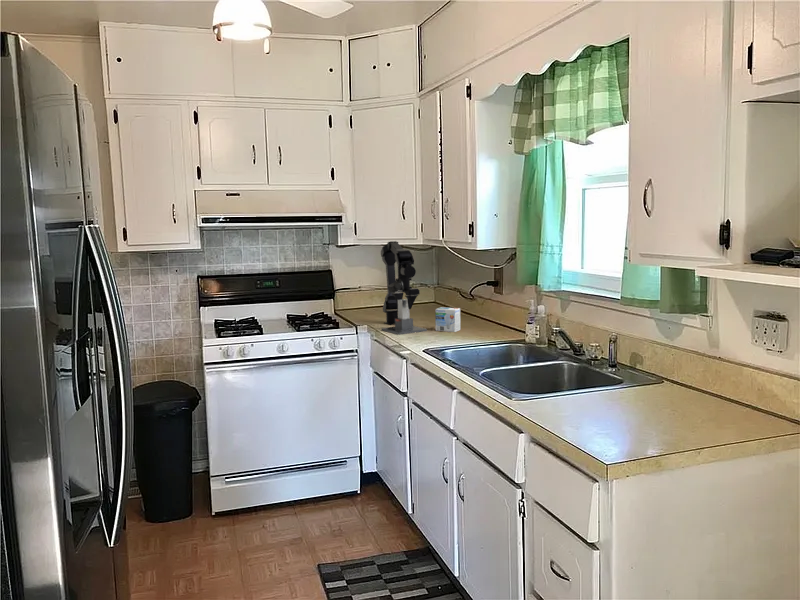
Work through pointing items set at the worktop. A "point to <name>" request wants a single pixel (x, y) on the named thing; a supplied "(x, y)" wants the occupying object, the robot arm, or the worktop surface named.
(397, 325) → the stand
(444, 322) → the light bulb box
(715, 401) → the worktop surface
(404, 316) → the column
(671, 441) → the worktop surface
